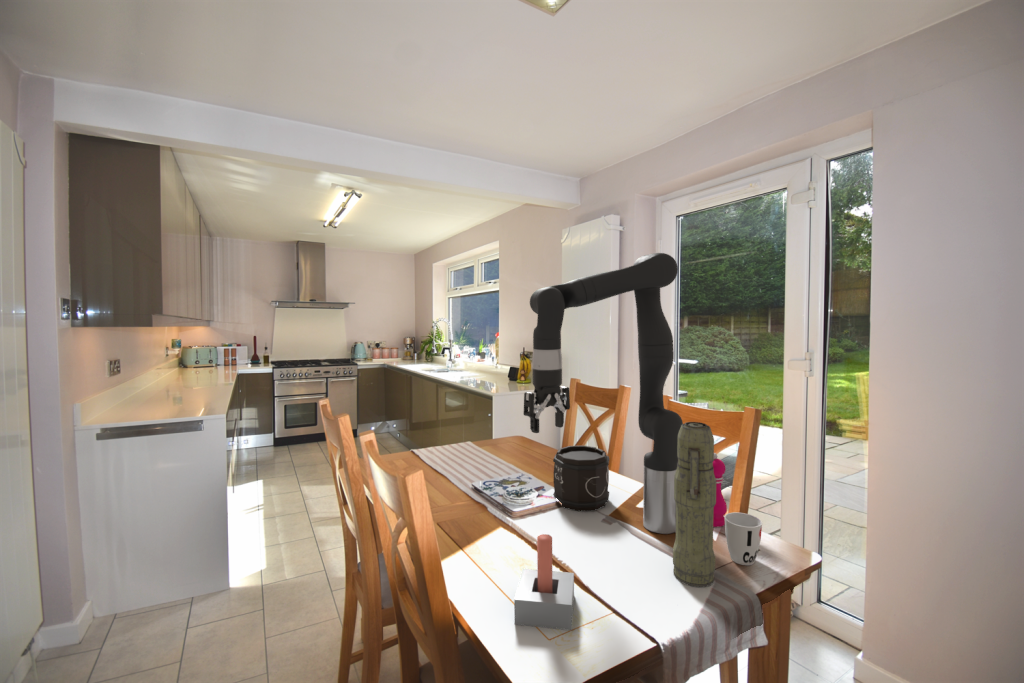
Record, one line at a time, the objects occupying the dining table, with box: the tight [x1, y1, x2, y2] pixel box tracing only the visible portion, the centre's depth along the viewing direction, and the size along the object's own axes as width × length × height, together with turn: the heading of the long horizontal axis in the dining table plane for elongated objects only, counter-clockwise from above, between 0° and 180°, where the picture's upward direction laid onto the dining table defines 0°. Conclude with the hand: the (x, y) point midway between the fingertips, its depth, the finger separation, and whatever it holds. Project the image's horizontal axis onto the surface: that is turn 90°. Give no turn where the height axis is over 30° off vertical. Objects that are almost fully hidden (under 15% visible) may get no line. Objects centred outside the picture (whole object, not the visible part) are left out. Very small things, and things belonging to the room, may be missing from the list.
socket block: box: [513, 568, 575, 631], centre depth 96 cm, size 11×11×5 cm
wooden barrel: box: [552, 445, 610, 512], centre depth 150 cm, size 18×18×16 cm
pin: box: [536, 533, 553, 594], centre depth 96 cm, size 3×3×15 cm
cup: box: [724, 511, 763, 566], centre depth 114 cm, size 8×8×10 cm
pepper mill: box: [713, 452, 728, 528], centre depth 133 cm, size 7×7×20 cm
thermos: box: [672, 421, 716, 588], centre depth 106 cm, size 9×12×35 cm
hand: (547, 429), depth 121 cm, fingers open, 8 cm apart
